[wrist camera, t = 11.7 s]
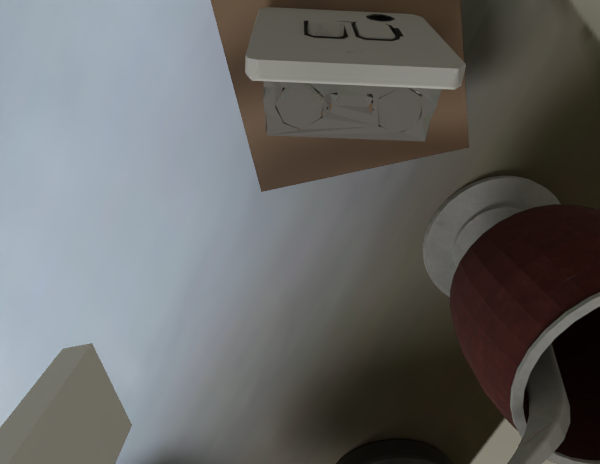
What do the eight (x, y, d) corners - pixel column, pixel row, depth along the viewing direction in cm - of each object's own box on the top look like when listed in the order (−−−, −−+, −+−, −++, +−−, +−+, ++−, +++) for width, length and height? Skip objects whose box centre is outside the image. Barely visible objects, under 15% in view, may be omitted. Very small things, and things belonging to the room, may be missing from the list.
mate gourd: (554, 137, 33) (873, 243, 15) (585, 274, 39) (852, 479, 20) (373, 216, 36) (458, 390, 18) (425, 335, 41) (533, 567, 23)
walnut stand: (439, 131, 33) (468, 147, 28) (266, 168, 34) (261, 191, 29) (421, -81, 28) (454, -113, 22) (216, -29, 29) (198, -47, 23)
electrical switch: (420, 14, 24) (482, 21, 16) (405, 105, 27) (453, 150, 19) (258, 6, 24) (240, 9, 16) (259, 98, 27) (243, 142, 19)
